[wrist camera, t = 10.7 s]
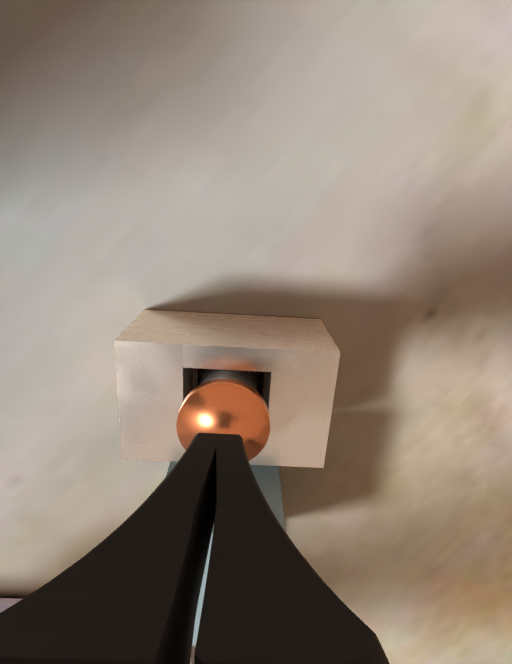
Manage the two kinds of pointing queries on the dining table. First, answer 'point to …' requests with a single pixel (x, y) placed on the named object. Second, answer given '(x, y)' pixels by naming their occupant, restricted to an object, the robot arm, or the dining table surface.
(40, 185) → the dining table surface
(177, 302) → the dining table surface
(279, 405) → the grey rectangular block
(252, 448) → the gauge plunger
